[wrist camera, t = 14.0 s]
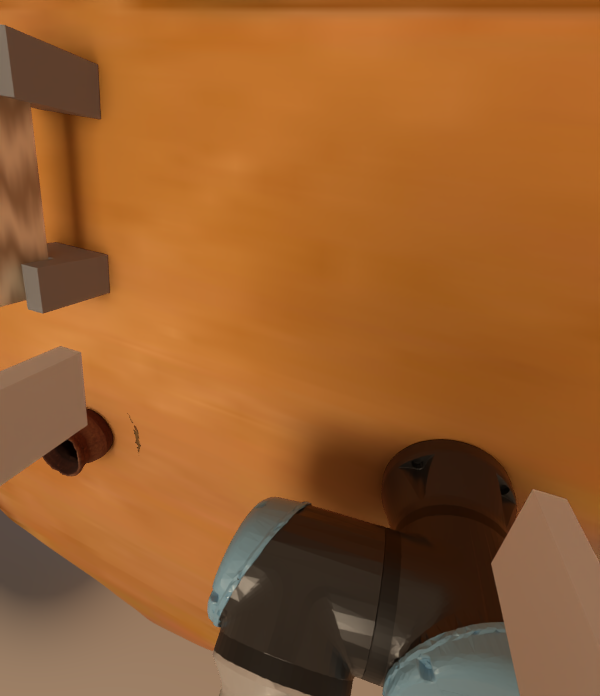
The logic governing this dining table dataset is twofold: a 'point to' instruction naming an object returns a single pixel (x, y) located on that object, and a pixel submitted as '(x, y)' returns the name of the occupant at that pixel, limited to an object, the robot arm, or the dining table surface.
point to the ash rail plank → (18, 200)
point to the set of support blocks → (64, 97)
